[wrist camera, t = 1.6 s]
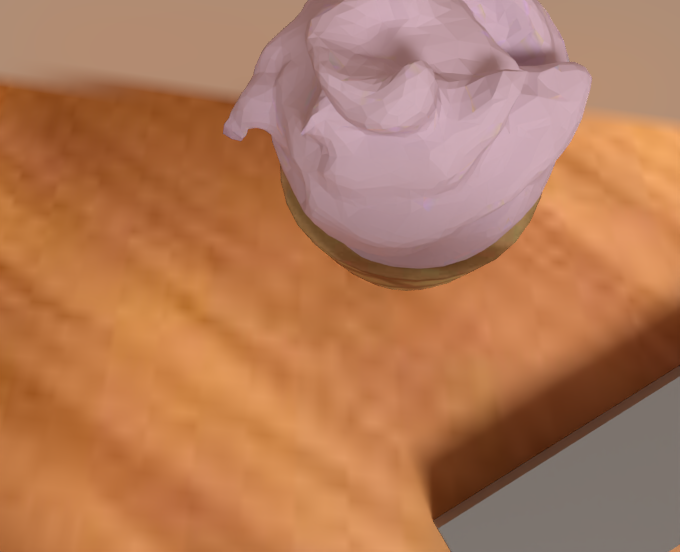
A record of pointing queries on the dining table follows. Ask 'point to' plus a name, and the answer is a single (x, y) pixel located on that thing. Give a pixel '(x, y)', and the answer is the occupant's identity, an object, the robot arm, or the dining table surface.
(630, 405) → the grey flat square frame
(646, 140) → the dining table surface
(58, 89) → the dining table surface
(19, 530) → the dining table surface
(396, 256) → the ice cream cone
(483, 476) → the dining table surface
